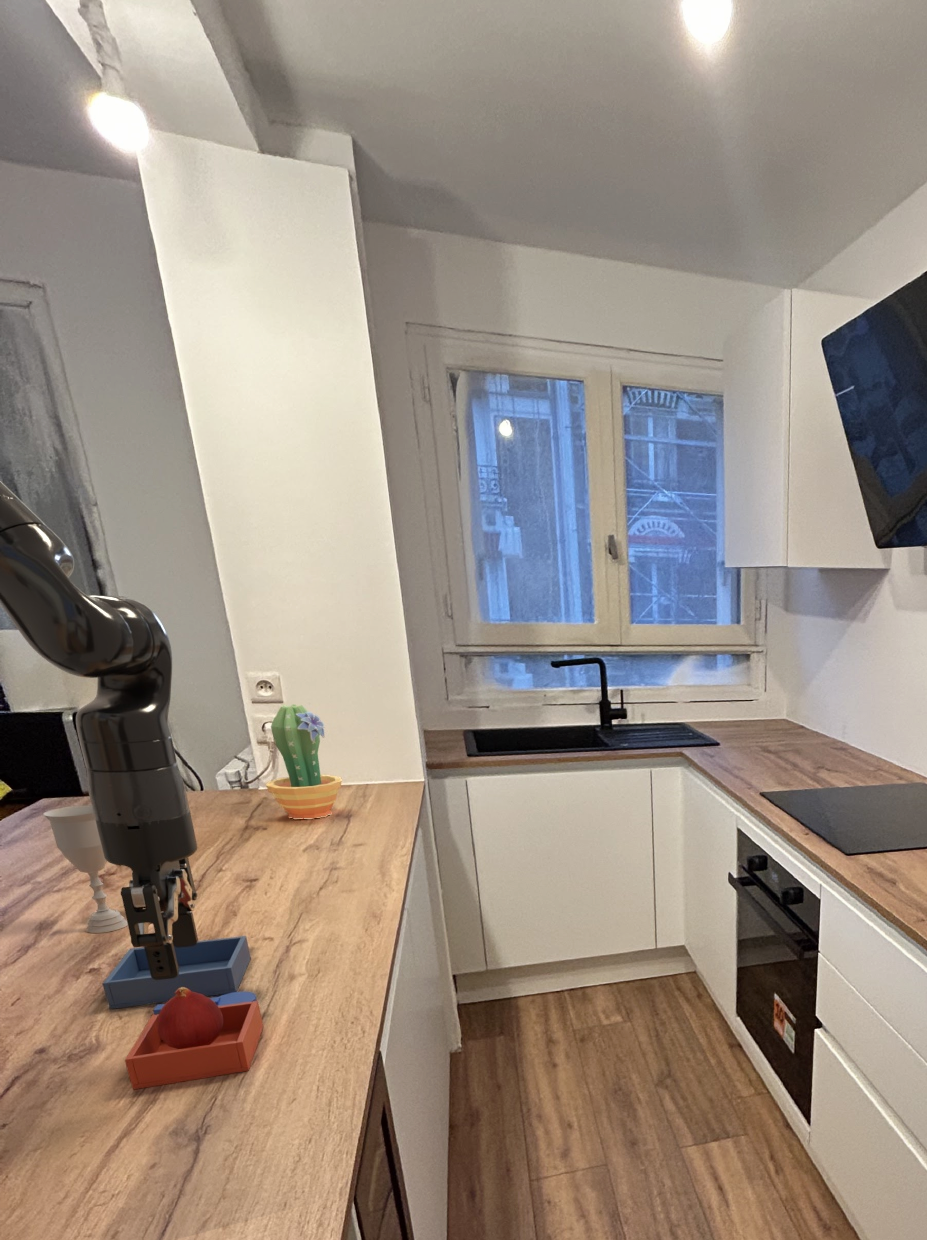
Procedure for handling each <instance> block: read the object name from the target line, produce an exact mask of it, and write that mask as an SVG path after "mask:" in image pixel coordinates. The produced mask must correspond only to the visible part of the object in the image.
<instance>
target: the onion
mask: <svg viewBox="0 0 927 1240" xmlns="http://www.w3.org/2000/svg"><path fill="white" fill-rule="evenodd" d="M175 994H176V996H174V997H173V998H171V999H170V1000H169V1001H168V1002H165V1003H164V1004H165V1005H164V1006H163V1007H162V1009H161V1011H160V1013H159V1016H158V1020H157V1031H158V1034H159V1036H160V1038H161V1039H162V1040H163V1041H164V1042H165V1043H166V1044H167V1045H168V1046H170V1047H173V1048H176V1049H185V1048H191V1047H198V1046H204V1045H210V1044H211V1043H212V1042H214V1040H215V1039H216V1038H217V1037H218V1036H219V1034H220V1031H221V1029H222V1026H223V1015H222V1013H221V1010H220V1009H219V1007H218V1006H217V1004H216V1003H215V1002H214V1001H213V1000H211V999H210V998H211V997H209V996H204V995H202V994H199V993H196V992H192V991H190V990H189V989H187V988H185V987H181V988H179V989H177V991H176V992H175Z"/></svg>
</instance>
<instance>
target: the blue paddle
mask: <svg viewBox="0 0 927 1240" xmlns="http://www.w3.org/2000/svg"><path fill="white" fill-rule="evenodd" d="M209 998H210V999H211V1000H213V1001H214V1002H215V1003H216V1004H217V1006H222V1005H230V1004H237V1003H244V1002H253V1001H258V999H257V994H256V993H255V992H252V991H245V990H244V991H243V990H242V991H237V992H233V993H228V994H221V995H218V996H214V997H213V996H212V997H209ZM165 1004H166V1003H159V1004H156V1005H155V1007H154V1008H153V1010H152V1011H153V1015H157V1014H158V1015H159V1013H160V1011H161V1009H162V1007H163V1006H164V1005H165Z"/></svg>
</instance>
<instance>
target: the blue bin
mask: <svg viewBox="0 0 927 1240" xmlns="http://www.w3.org/2000/svg"><path fill="white" fill-rule="evenodd" d="M174 950H175V954H176V958H177V963H178V967H179V974H178V975H177V977H175V978H172V979H163V980H154V979H153V978H152V977H151V974H150V970H149V966H148V961H147V957H146V953H145V949H144V947H135V948H134V947H133V948H129V950H127V952H126V953H125V954H124V956H123V957H122V958H121V959H120V961H118V963H117V964H116V966H115V967H114V968H113V969H112V971H111V972H110V973H109V974H108V976H107V977H106V978H105V979H104V981H103V982H102V987H103V991H104V994H105V997H106V1001H107V1005H108V1008H109V1010H114V1009H115V1010H116V1009H122V1008H129V1007H130V1008H131V1007H136V1006H137V1007H138V1006H145V1005H152V1004H158V1003H159V1004H161V1003H167V1002H168V1001H169V1000H170V999H171V998H173V997H174V996H176V994H175V992H176V991H177V989H179V988H181V987H185V988H187V989H189V990H190V991H192V992H196V993H199V994H202V995H204V996H206V997H213V996H222V995H225V994H228V993H233V992H238V989H239V987H240V986H241V983H242V980H243V978H244V976H245V974H246V972H247V969H248V967H249V965H250V962H251V960H252V957H251V951H250V947H249V942H248V939H247V936H246V935H243V936H233V937H232V936H231V937H223V938H215V939H206V940H198V942H197V944H196V945H195V946H190V947H180V948H177V947H175V946H174Z"/></svg>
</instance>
